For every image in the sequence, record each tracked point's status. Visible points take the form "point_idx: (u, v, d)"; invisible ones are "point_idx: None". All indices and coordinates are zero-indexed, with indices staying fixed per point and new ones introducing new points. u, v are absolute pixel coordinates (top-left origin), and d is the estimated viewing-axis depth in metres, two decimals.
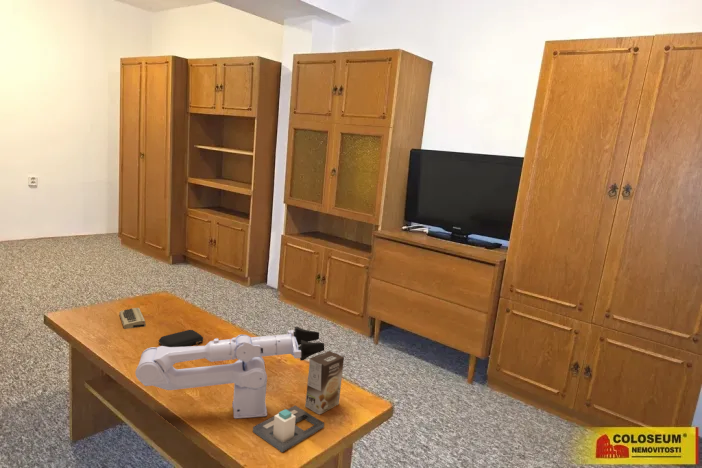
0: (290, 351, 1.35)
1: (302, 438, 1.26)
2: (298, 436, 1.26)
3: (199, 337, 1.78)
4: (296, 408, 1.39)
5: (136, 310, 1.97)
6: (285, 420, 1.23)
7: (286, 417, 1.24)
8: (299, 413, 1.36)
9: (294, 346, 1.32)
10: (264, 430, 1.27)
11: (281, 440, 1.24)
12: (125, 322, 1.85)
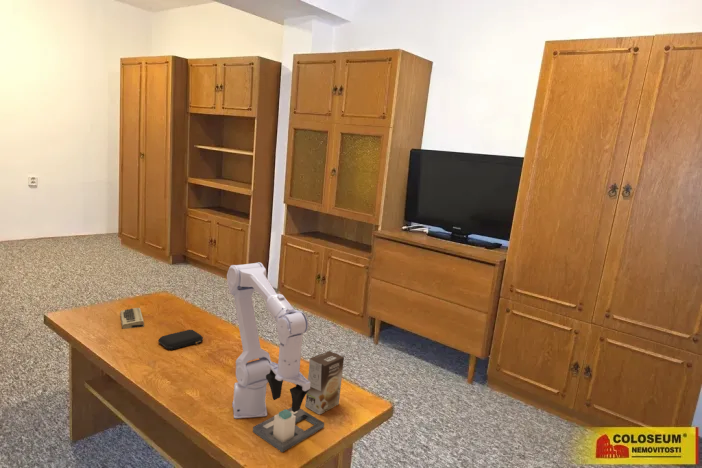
0: None
1: (302, 438, 1.26)
2: (298, 436, 1.26)
3: (199, 337, 1.78)
4: None
5: (137, 310, 1.97)
6: (285, 420, 1.23)
7: (286, 417, 1.24)
8: (299, 413, 1.36)
9: (271, 368, 1.24)
10: (264, 430, 1.27)
11: (281, 440, 1.24)
12: (124, 322, 1.85)
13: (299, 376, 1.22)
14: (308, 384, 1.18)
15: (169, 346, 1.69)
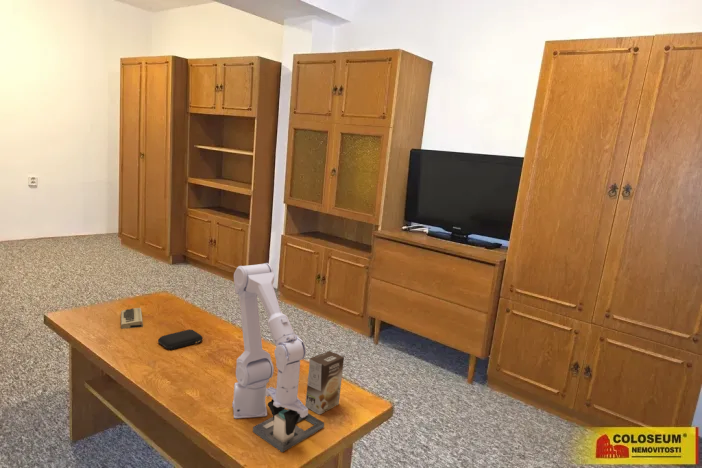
0: None
1: (302, 438, 1.26)
2: (298, 436, 1.26)
3: (198, 337, 1.78)
4: None
5: (137, 310, 1.97)
6: (285, 420, 1.23)
7: None
8: None
9: (270, 394, 1.26)
10: (264, 430, 1.27)
11: (281, 440, 1.24)
12: (123, 322, 1.85)
13: (297, 402, 1.23)
14: (306, 411, 1.20)
15: (169, 346, 1.70)
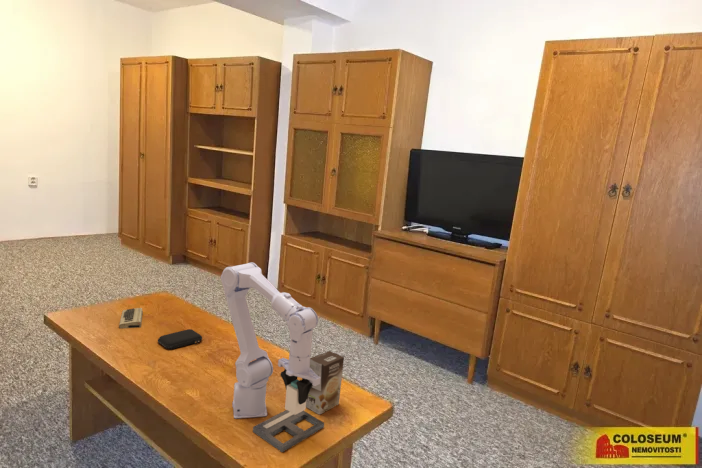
0: None
1: (302, 438, 1.26)
2: (298, 436, 1.26)
3: (198, 336, 1.78)
4: None
5: (138, 310, 1.97)
6: (297, 389, 1.24)
7: None
8: (299, 413, 1.36)
9: (282, 364, 1.27)
10: (264, 430, 1.27)
11: (293, 409, 1.25)
12: (121, 322, 1.85)
13: (309, 372, 1.25)
14: (318, 379, 1.21)
15: (168, 346, 1.70)
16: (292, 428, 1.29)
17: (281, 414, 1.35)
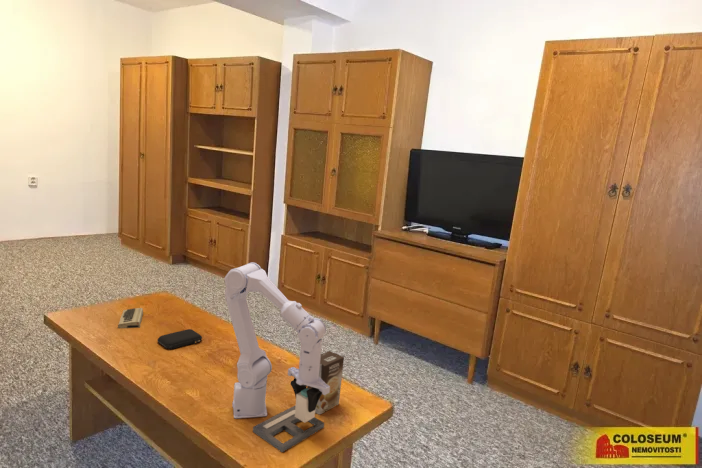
0: None
1: (302, 438, 1.26)
2: (298, 436, 1.26)
3: (198, 336, 1.78)
4: None
5: (138, 310, 1.97)
6: (307, 398, 1.28)
7: None
8: None
9: (292, 373, 1.31)
10: (264, 430, 1.27)
11: (303, 417, 1.29)
12: (120, 322, 1.85)
13: (318, 380, 1.29)
14: (328, 388, 1.25)
15: (168, 345, 1.70)
16: (292, 428, 1.29)
17: (281, 414, 1.35)
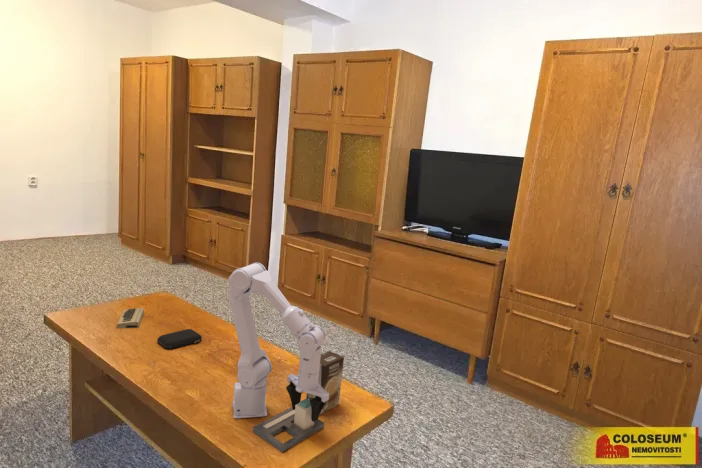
0: None
1: (302, 438, 1.26)
2: (298, 436, 1.26)
3: (197, 336, 1.78)
4: None
5: (138, 310, 1.97)
6: (306, 409, 1.29)
7: (307, 406, 1.30)
8: None
9: (291, 380, 1.32)
10: (264, 430, 1.27)
11: (302, 428, 1.30)
12: (119, 321, 1.85)
13: (318, 388, 1.29)
14: (327, 395, 1.26)
15: (168, 345, 1.70)
16: (292, 428, 1.29)
17: (281, 414, 1.35)
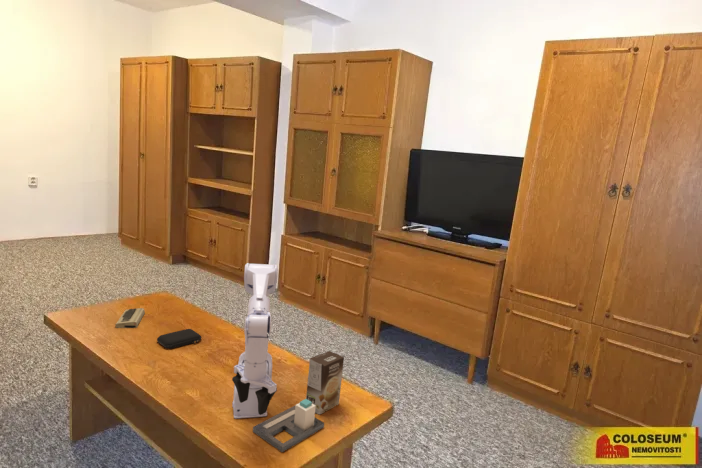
0: None
1: (302, 438, 1.26)
2: (298, 436, 1.26)
3: (197, 336, 1.79)
4: None
5: (139, 310, 1.97)
6: (306, 409, 1.29)
7: (307, 406, 1.30)
8: None
9: (238, 371, 1.22)
10: (264, 430, 1.27)
11: (302, 428, 1.30)
12: (118, 321, 1.86)
13: (265, 378, 1.20)
14: (274, 386, 1.16)
15: (167, 345, 1.70)
16: (292, 428, 1.29)
17: (281, 414, 1.35)
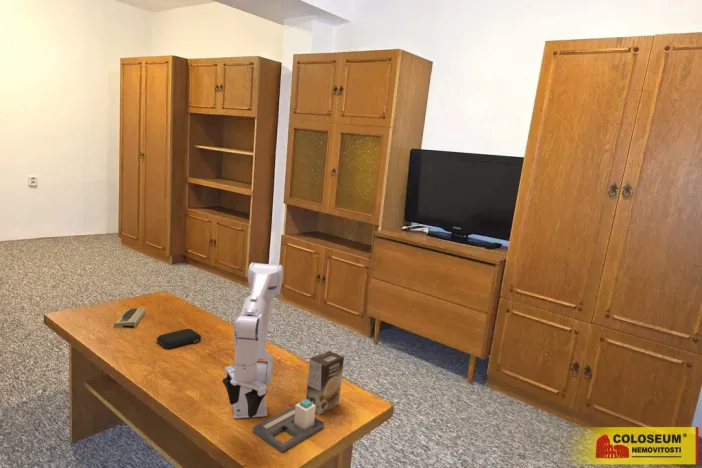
0: None
1: (302, 438, 1.26)
2: (298, 436, 1.26)
3: (197, 336, 1.79)
4: None
5: (139, 310, 1.97)
6: (306, 409, 1.29)
7: (307, 406, 1.30)
8: None
9: (228, 372, 1.21)
10: (264, 430, 1.27)
11: (302, 428, 1.30)
12: (117, 321, 1.86)
13: (256, 380, 1.19)
14: (264, 389, 1.15)
15: (167, 345, 1.70)
16: (292, 428, 1.29)
17: (281, 414, 1.35)
